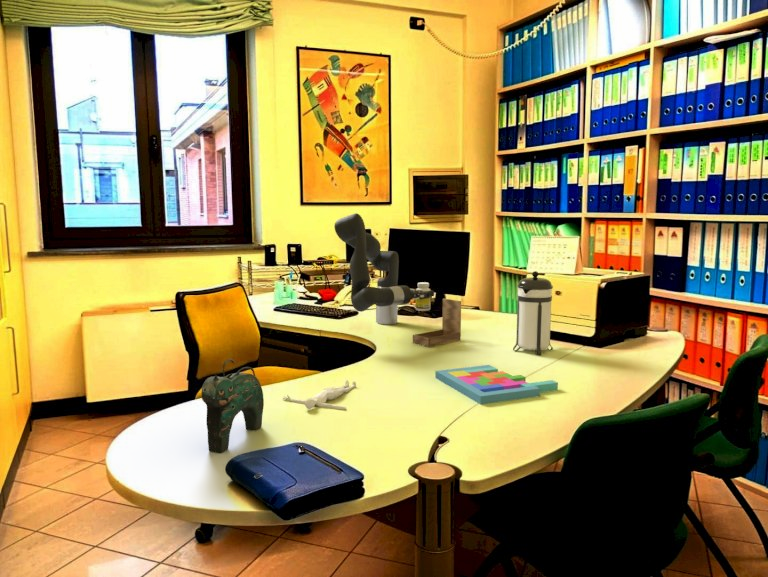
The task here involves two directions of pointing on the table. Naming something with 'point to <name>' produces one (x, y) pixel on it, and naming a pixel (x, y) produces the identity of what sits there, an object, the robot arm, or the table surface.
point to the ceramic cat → (231, 405)
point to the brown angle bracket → (444, 326)
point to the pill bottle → (423, 303)
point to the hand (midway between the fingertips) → (427, 292)
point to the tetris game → (492, 384)
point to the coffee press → (534, 314)
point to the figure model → (325, 397)
